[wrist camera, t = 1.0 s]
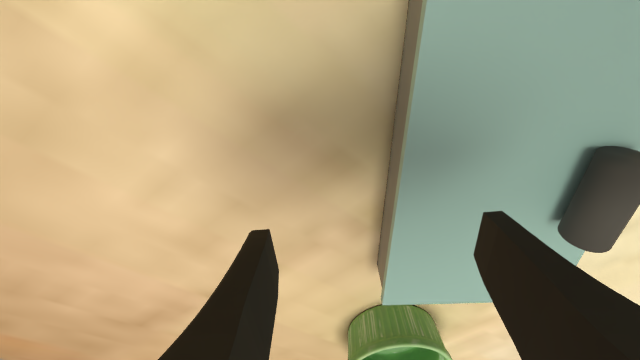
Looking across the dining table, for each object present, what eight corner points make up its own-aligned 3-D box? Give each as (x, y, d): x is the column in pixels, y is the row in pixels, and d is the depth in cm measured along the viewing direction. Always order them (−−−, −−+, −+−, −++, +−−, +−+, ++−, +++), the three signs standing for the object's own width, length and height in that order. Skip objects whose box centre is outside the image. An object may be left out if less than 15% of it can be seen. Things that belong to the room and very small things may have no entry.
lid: (736, -32, 14) (833, -24, 12) (550, 293, 26) (577, 334, 23) (426, -28, 14) (453, -18, 11) (380, 298, 26) (388, 339, 23)
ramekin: (456, 327, 34) (474, 375, 30) (380, 362, 37) (387, 409, 33) (402, 283, 30) (415, 331, 26) (322, 327, 33) (324, 375, 30)
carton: (665, -33, 17) (726, -26, 14) (527, 260, 28) (548, 291, 26) (412, -29, 17) (430, -22, 14) (377, 263, 28) (383, 295, 26)
